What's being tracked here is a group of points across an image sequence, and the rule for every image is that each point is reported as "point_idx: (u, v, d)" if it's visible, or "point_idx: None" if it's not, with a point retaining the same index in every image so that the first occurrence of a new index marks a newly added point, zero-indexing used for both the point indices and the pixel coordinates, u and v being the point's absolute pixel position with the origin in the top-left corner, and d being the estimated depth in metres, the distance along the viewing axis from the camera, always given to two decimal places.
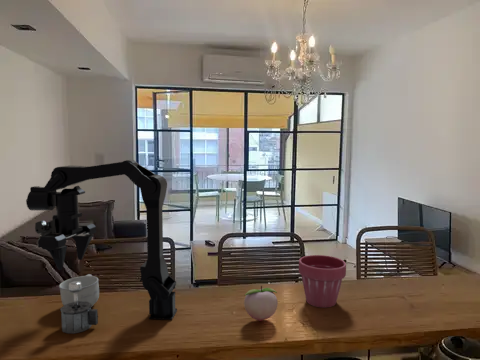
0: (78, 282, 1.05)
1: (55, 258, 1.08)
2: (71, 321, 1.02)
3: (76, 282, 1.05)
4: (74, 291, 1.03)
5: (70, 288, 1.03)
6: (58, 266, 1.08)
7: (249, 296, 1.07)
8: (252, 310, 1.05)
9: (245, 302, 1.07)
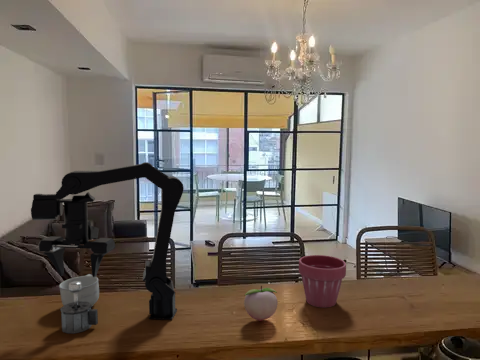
0: (78, 282, 1.05)
1: None
2: (71, 321, 1.02)
3: (76, 282, 1.05)
4: (74, 291, 1.03)
5: (70, 288, 1.03)
6: None
7: (249, 296, 1.07)
8: (252, 310, 1.05)
9: (245, 302, 1.07)
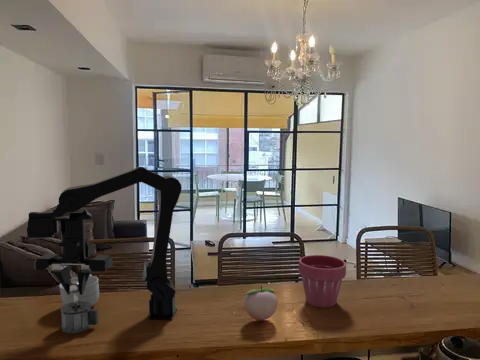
0: None
1: None
2: (71, 321, 1.02)
3: (76, 282, 1.05)
4: (74, 291, 1.03)
5: (70, 288, 1.03)
6: None
7: (249, 296, 1.07)
8: (252, 310, 1.05)
9: (245, 302, 1.07)
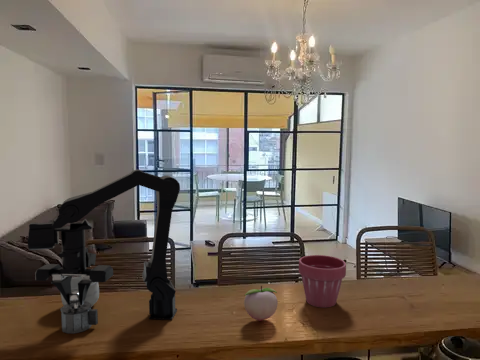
0: (78, 292, 1.05)
1: None
2: (71, 321, 1.02)
3: (76, 292, 1.06)
4: (74, 301, 1.04)
5: (70, 298, 1.04)
6: None
7: (249, 296, 1.07)
8: (252, 310, 1.05)
9: (245, 302, 1.07)
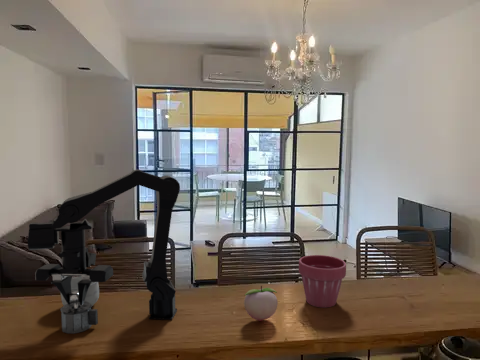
0: None
1: None
2: (71, 321, 1.02)
3: (76, 292, 1.06)
4: (74, 301, 1.04)
5: (70, 298, 1.04)
6: None
7: (249, 296, 1.07)
8: (252, 310, 1.05)
9: (245, 302, 1.07)
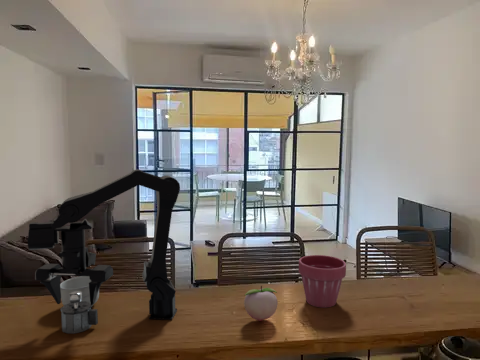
0: (78, 292, 1.05)
1: None
2: (71, 321, 1.02)
3: (76, 292, 1.06)
4: (74, 301, 1.04)
5: (70, 298, 1.04)
6: None
7: (249, 296, 1.07)
8: (252, 310, 1.05)
9: (245, 302, 1.07)
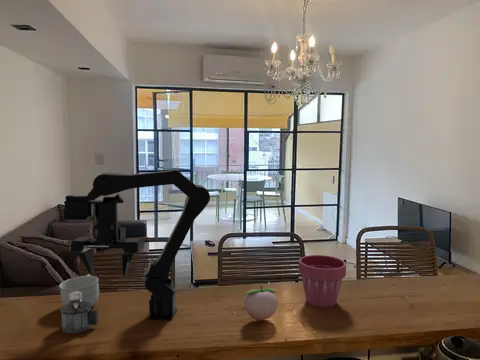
0: (78, 292, 1.05)
1: None
2: (71, 321, 1.02)
3: (76, 292, 1.06)
4: (74, 301, 1.04)
5: (70, 298, 1.04)
6: None
7: (249, 296, 1.07)
8: (252, 310, 1.05)
9: (245, 302, 1.07)
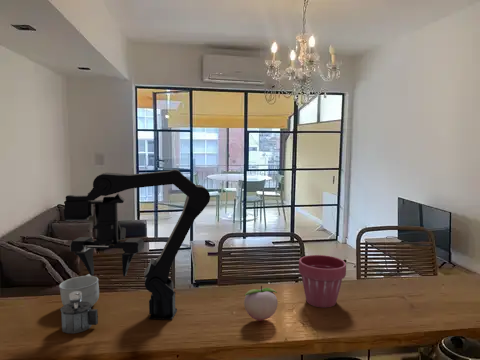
0: (78, 292, 1.05)
1: None
2: (71, 321, 1.02)
3: (76, 292, 1.06)
4: (74, 301, 1.04)
5: (70, 298, 1.04)
6: None
7: (249, 296, 1.07)
8: (252, 310, 1.05)
9: (245, 302, 1.07)
